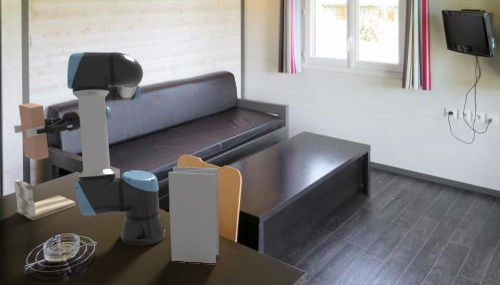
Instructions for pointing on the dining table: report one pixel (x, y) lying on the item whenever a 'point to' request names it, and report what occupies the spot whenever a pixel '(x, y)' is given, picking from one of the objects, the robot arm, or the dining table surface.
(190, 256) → the brochure
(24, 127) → the salmon pink rectangular block
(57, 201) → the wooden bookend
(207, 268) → the dining table surface
